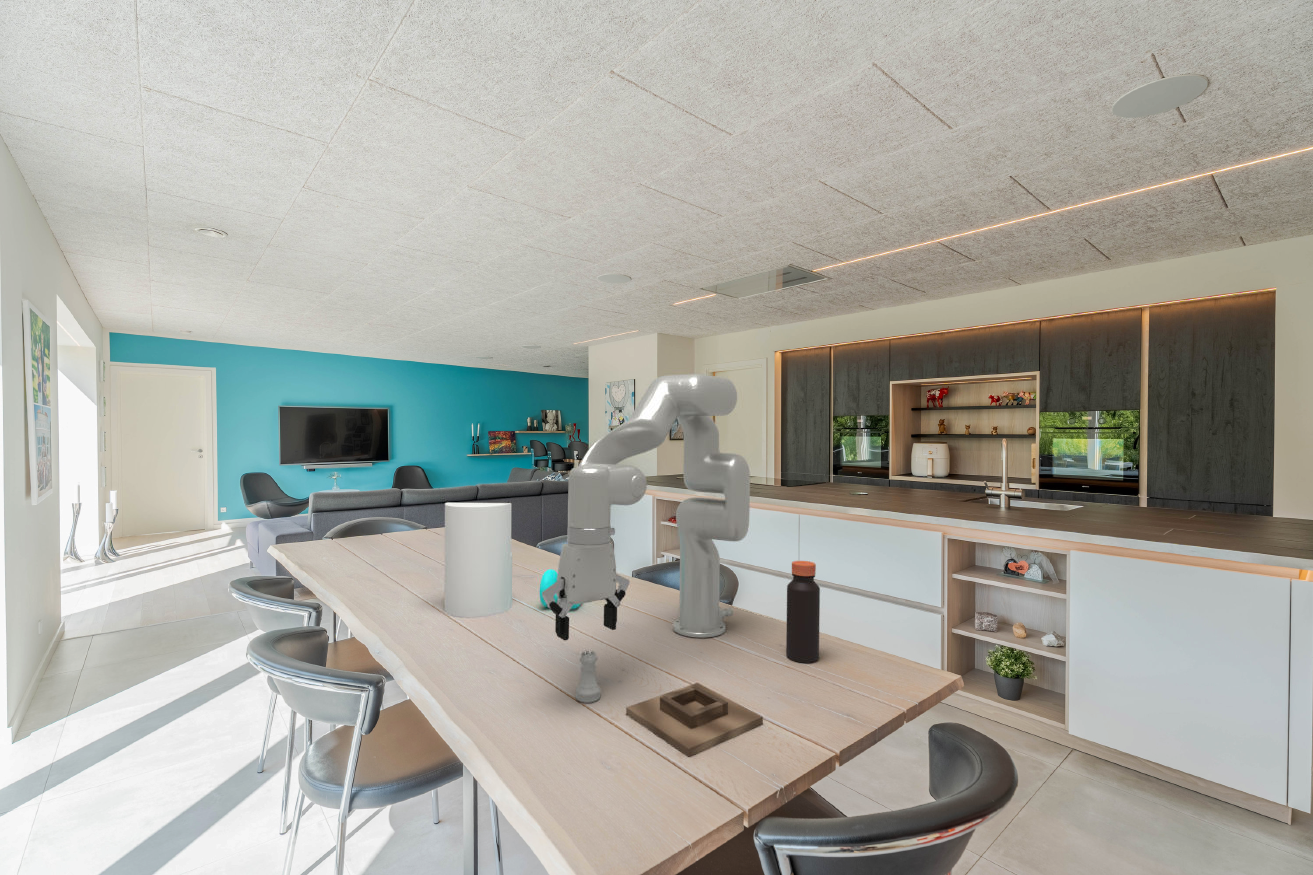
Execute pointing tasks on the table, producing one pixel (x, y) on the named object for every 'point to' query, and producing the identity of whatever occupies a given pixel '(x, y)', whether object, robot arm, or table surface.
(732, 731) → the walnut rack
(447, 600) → the cylinder
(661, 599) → the table surface
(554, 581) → the donuts
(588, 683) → the rook chess piece
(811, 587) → the bottle
